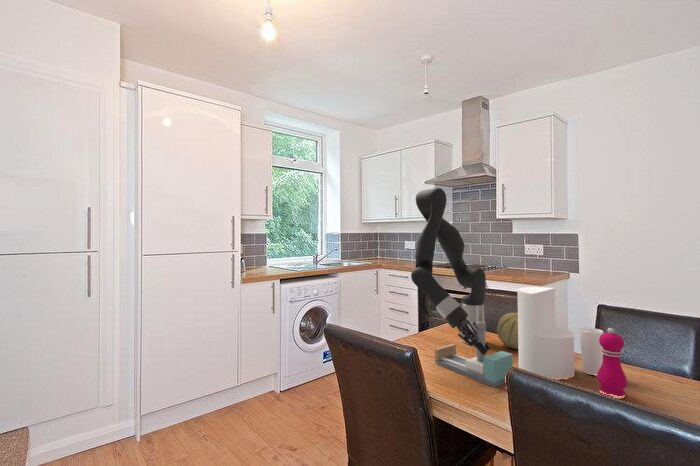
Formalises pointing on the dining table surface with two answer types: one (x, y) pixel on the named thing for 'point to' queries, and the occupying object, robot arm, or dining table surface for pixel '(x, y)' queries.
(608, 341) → the pepper mill
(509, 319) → the cantaloupe
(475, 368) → the carriage
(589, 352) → the drinking glass
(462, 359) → the rail bed
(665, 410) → the dining table surface
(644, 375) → the dining table surface
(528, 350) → the white stepped block
